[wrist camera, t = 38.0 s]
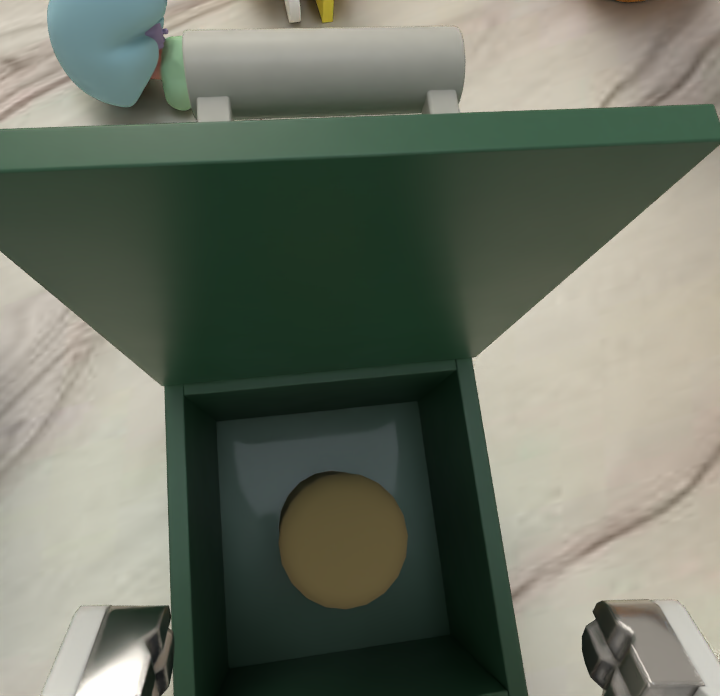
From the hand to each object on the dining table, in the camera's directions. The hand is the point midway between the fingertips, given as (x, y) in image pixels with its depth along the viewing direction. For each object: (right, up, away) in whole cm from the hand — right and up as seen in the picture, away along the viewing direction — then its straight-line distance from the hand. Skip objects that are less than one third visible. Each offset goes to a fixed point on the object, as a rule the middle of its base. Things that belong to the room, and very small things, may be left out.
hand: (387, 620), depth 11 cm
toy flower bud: (-14, +23, +28) cm, 39 cm away
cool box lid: (-1, +6, +6) cm, 9 cm away
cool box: (-2, -5, +22) cm, 22 cm away
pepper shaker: (-2, -5, +21) cm, 22 cm away
